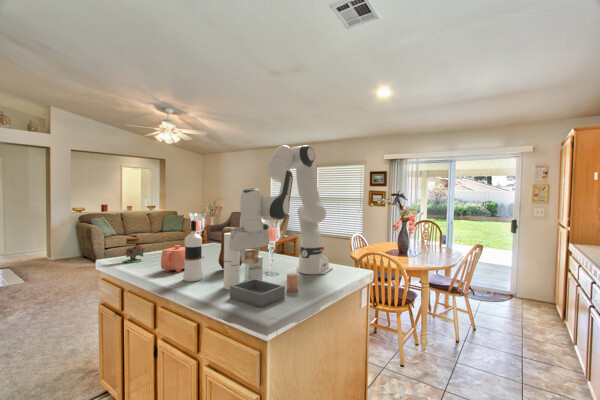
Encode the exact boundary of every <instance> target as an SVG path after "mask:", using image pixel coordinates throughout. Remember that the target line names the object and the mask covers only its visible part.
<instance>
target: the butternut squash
mask: <svg viewBox="0 0 600 400" xmlns="http://www.w3.org/2000/svg"><path fill="white" fill-rule="evenodd" d="M234 228H236V227H234V226H225V227H223V229H221V233H220V235H221V237H220V238H221V240H220V241H221V242H220V252H219V255H218V264H219V265H220V267H221V268H222V269H223V270H224V233H231V231H232V230H233V229H234ZM233 231H234V230H233ZM242 264H243V263H242V256H241V254H240V267H241V266H242Z"/></svg>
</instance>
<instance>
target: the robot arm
mask: <svg viewBox="0 0 600 400" xmlns="http://www.w3.org/2000/svg"><path fill="white" fill-rule="evenodd" d="M315 158H316V155H315V150H314V149H313V147H311V145H309V144H308V145H307V144H305V145H299V146H293V147H290V146H288V145H279V146H277V148H276V149H275V150H274V152H273V154H272V155H271V156H270V158H269V161H268V163H267V166H266V167H267V168H266V171H267V172H266V173H267V174H268V176H269V177H270V178H271V179H272V180H273V181H275V182H277V183H280V187H279V188H280V189H279V193H278V195H275V196H264V195H262V194H261V190H260V189H259V188H257V187H256V188H255V187H254V188H245V189H243V190H242V191H241V195H240V200H239V201H240V203H239V211H240V218H239V227H235V228H234V229H233V230H234V231H233V230H232V231H231V236H230V241H229V249H230V250H231V251H239V252H240V254H241V256H242V260H243V261H244V260H247V256H245V253H244V252H245V250H250V249H251V250H253V249H254V250H256V251H259V252H260V250H261V248H262V247H268V246H269V244H270V232H269V230H270V225H269V224H267V223H265V222H263V221H262V218H263V219H273V220H280V221H281V220H283V219H285V218H286V217H287V216H288V214H289V212H290V200H291V193H292V189H293V181H294V179H293V178H294V177H293V173H292V171H291V169H295V173H296V174H295V175H296V185H297V190H298V195H299V197H300V199H301V203H302V204H301V205H300V206H299V207H298V208H297V215H298V219H299V220H298V221H299V226H300V247H299V248H300V249H299V253H300V254H299V256H298V265H297V267H296V270H297V272H298V273H301V274H304V275H325V274H327V273H329V272H330V271H332V270H334V268H333V266H331V265H330V264H329V263H330V261H329V258H328V257H327V256H326V255H324V254H323V251H325V249H326V248H325V246H321V236H322V235H321V231H320V228H319V223H321V222H323V221H324V220H325V219H326V217H327V210H326V208H325V207H324V205H323V203H322V200H321V197H320V194H319V190H318V189H319V188H318V183H317V177H316V171H315V168H314V164H313V163H314V162H315Z"/></svg>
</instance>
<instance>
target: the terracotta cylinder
mask: <svg viewBox="0 0 600 400" xmlns="http://www.w3.org/2000/svg"><path fill="white" fill-rule="evenodd" d="M298 289H299V274H298V273H287V274H286V292H289V293H296V292H298V291H299V290H298Z"/></svg>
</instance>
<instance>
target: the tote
mask: <svg viewBox="0 0 600 400" xmlns="http://www.w3.org/2000/svg"><path fill="white" fill-rule="evenodd" d="M285 295H286V286H285V285H281V284H277V283H273V282H270V281H266V280H263V279H262V280H258V279H252V280H248V281H245V280H244V281H240V282H239V283H238V284H235V285H231V286H230V289H229V298H230V299H233V300H235V301H237V302H241V303H244V304H248V305H251V306H253V307H256V308H260V309H263V308H264V307H265V308H266V306H269V305H272V304H274V303H277V302H279V301H282V300H284V299H285V297H286V296H285Z"/></svg>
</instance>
